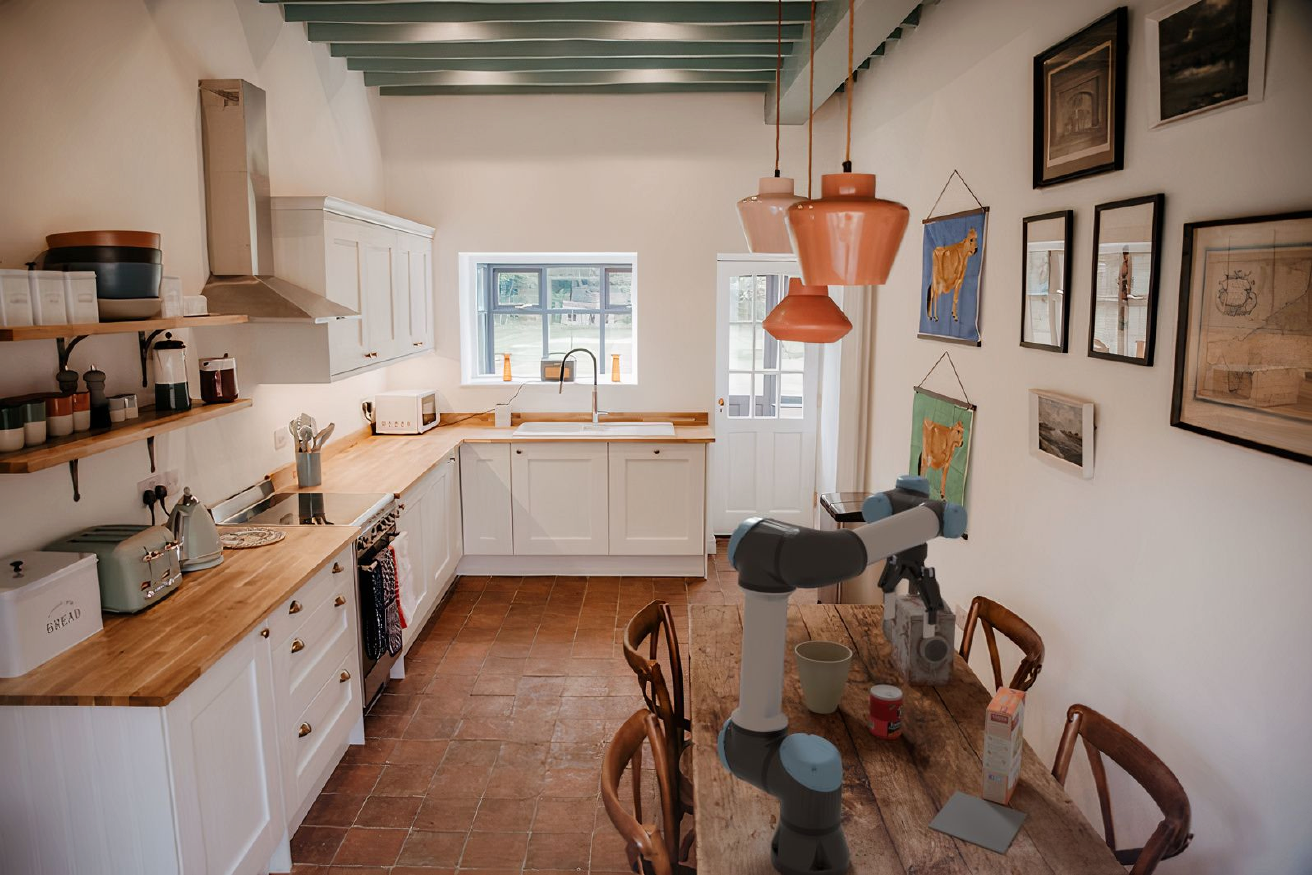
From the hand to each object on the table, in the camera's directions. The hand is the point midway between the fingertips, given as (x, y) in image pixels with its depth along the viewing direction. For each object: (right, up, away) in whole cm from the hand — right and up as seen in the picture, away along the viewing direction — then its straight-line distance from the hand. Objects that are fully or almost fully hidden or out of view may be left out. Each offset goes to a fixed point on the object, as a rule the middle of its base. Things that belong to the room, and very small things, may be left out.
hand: (908, 627), depth 210 cm
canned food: (-3, -29, +11) cm, 31 cm away
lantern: (+16, -23, +48) cm, 56 cm away
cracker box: (+16, -33, -15) cm, 39 cm away
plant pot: (-16, -27, +25) cm, 40 cm away
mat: (+7, -34, -27) cm, 44 cm away
